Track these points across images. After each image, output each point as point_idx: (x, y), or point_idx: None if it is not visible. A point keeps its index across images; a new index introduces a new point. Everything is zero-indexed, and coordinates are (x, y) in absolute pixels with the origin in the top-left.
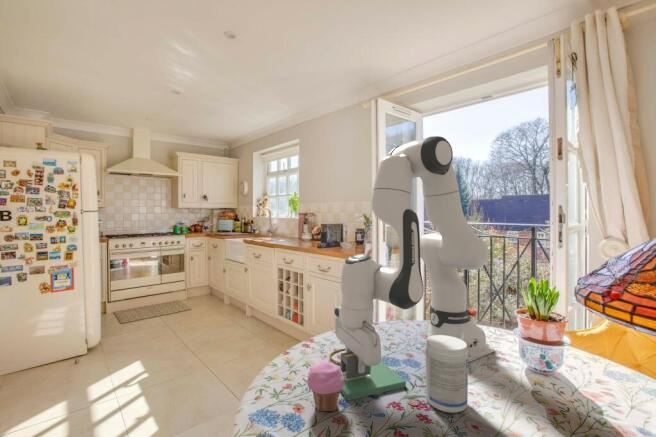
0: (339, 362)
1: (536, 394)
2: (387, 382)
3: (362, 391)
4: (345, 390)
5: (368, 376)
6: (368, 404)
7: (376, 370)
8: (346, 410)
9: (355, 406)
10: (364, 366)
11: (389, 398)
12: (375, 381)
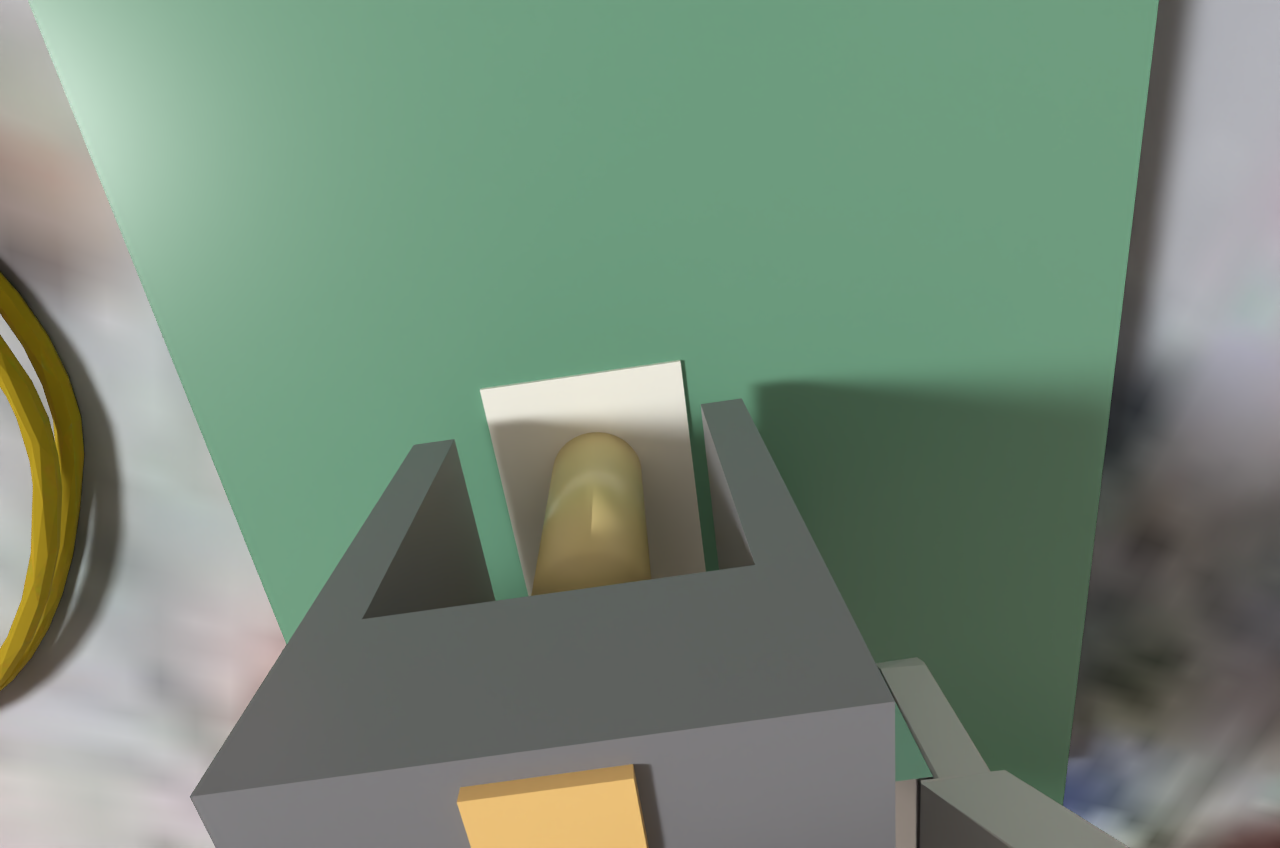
0: (7, 676)
1: None
2: (1046, 95)
3: (1077, 635)
4: None
5: (693, 403)
6: (1206, 561)
7: (478, 124)
8: (1170, 800)
9: (1158, 707)
10: (979, 765)
11: (1253, 209)
12: (911, 339)
